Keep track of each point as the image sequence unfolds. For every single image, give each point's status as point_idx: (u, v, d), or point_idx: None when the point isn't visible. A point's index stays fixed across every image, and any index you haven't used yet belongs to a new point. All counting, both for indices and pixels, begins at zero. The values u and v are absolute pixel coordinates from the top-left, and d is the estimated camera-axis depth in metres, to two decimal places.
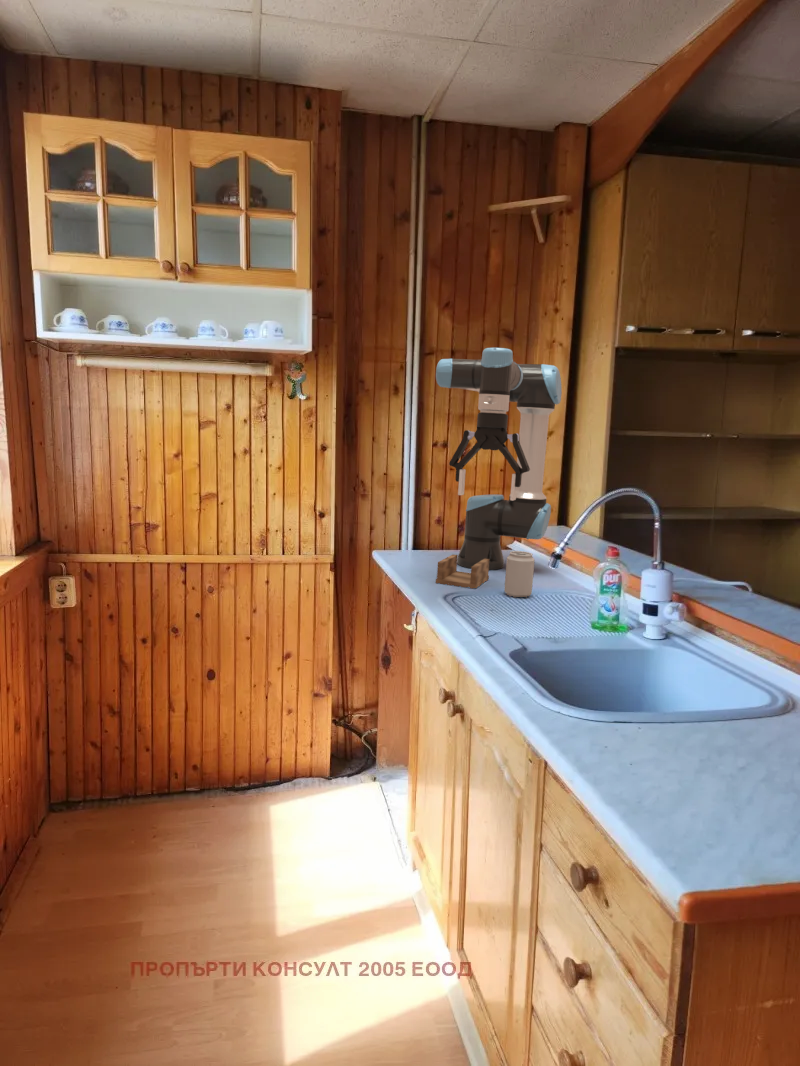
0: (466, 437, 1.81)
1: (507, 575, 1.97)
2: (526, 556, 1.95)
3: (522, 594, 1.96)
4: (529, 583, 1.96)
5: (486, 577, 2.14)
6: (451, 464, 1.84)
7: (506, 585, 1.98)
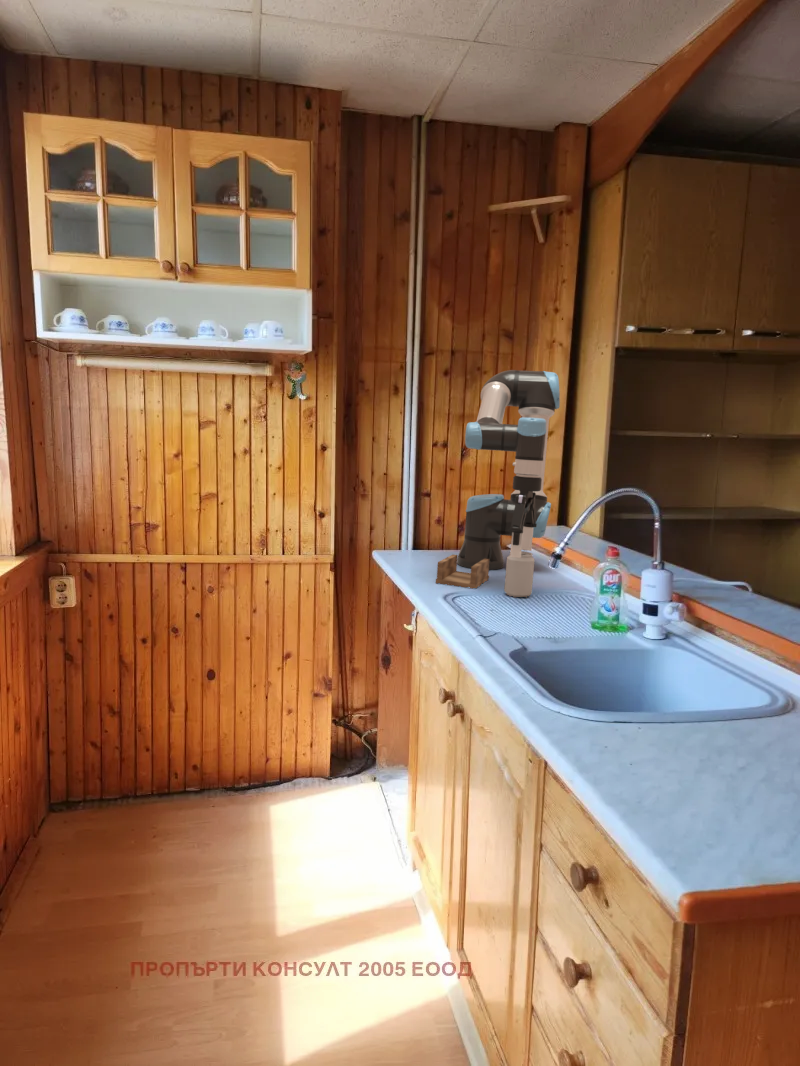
0: None
1: (507, 575, 1.97)
2: (526, 556, 1.95)
3: (522, 594, 1.96)
4: (529, 583, 1.96)
5: (486, 577, 2.14)
6: None
7: (506, 585, 1.98)
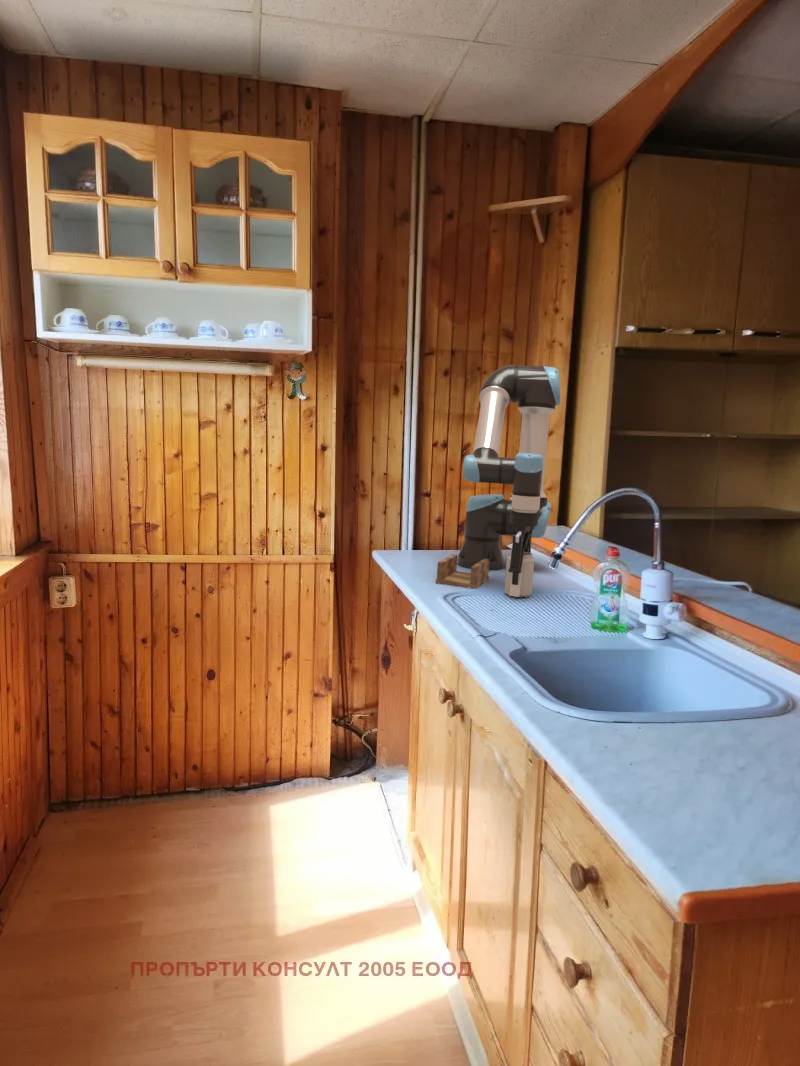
0: None
1: (507, 575, 1.97)
2: (526, 556, 1.95)
3: (522, 594, 1.96)
4: (529, 583, 1.96)
5: (486, 577, 2.14)
6: None
7: (506, 585, 1.98)
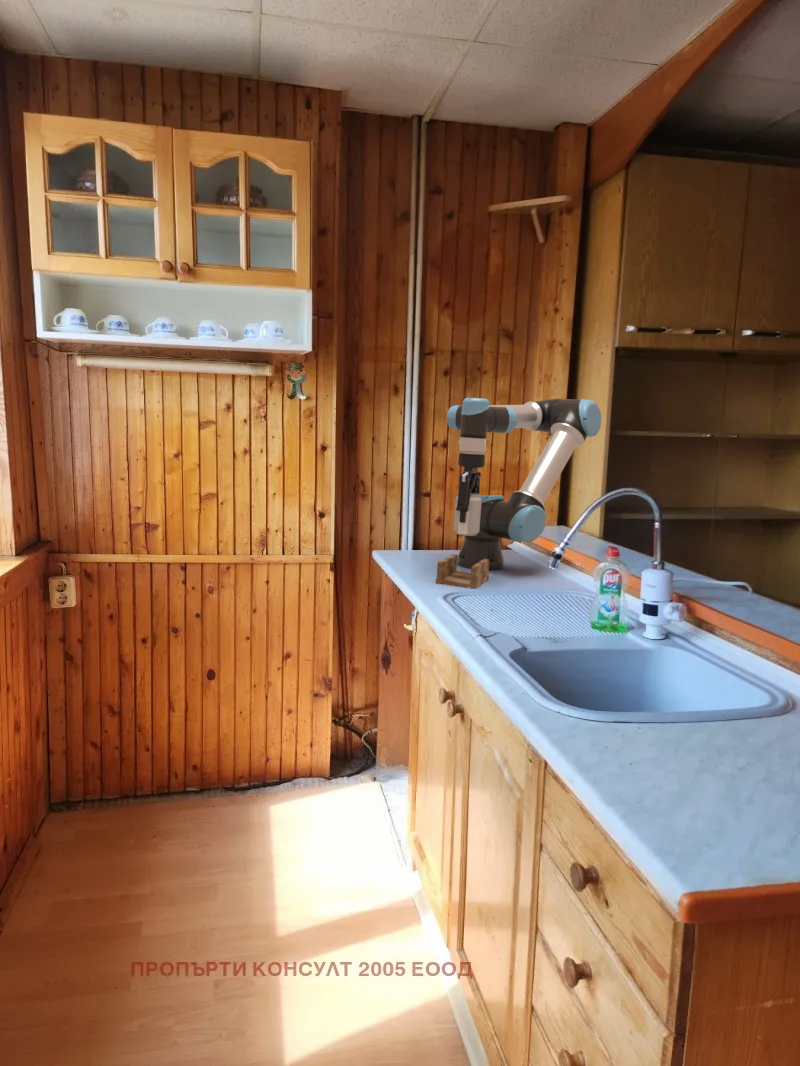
0: None
1: (455, 514, 2.08)
2: (473, 495, 2.05)
3: (469, 532, 2.06)
4: (476, 521, 2.07)
5: (486, 577, 2.14)
6: None
7: (455, 524, 2.08)
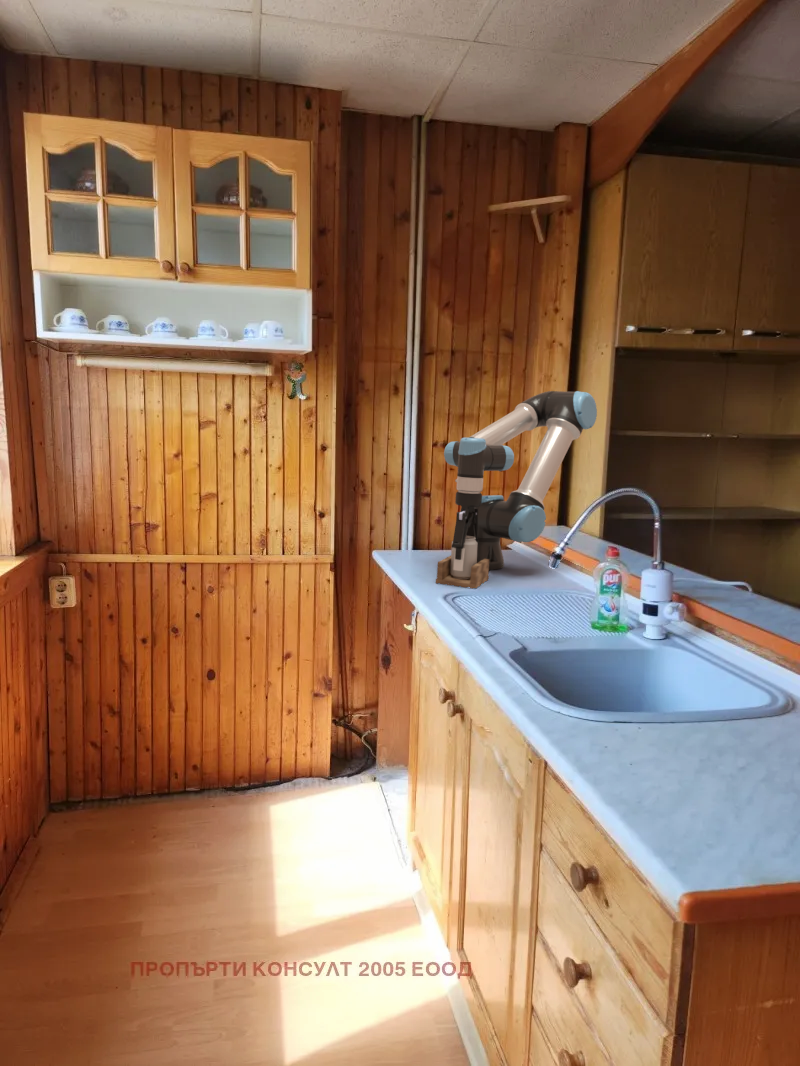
0: None
1: (452, 558, 2.10)
2: (469, 540, 2.08)
3: (466, 575, 2.08)
4: None
5: (486, 577, 2.14)
6: None
7: (451, 568, 2.11)
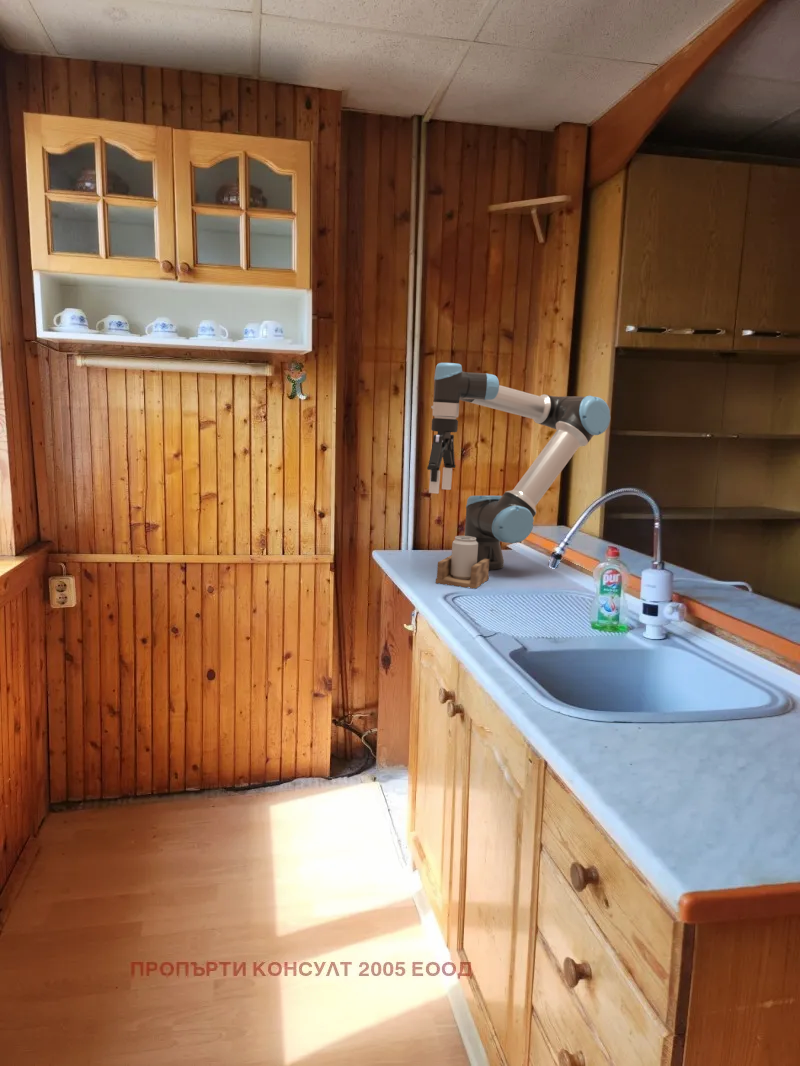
0: None
1: (452, 558, 2.10)
2: (469, 540, 2.08)
3: (466, 576, 2.08)
4: None
5: (486, 577, 2.14)
6: None
7: (452, 568, 2.11)
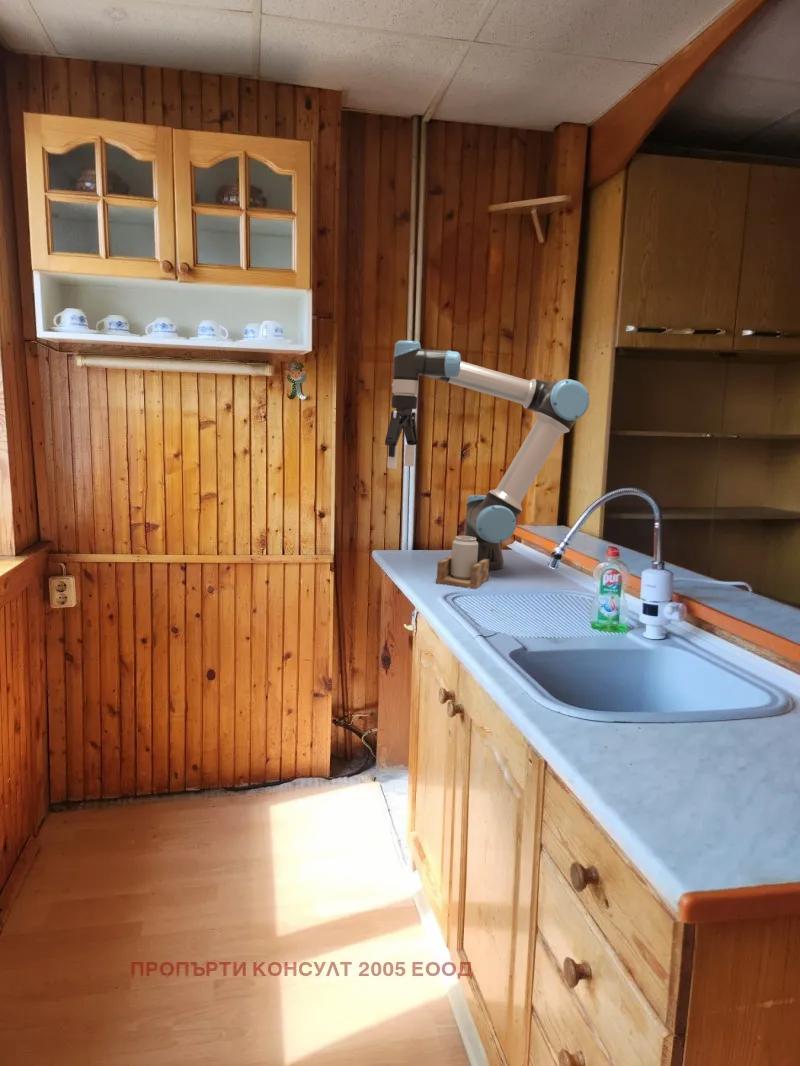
0: None
1: (452, 558, 2.10)
2: (470, 540, 2.08)
3: (466, 576, 2.08)
4: None
5: (486, 577, 2.14)
6: None
7: (452, 568, 2.11)
